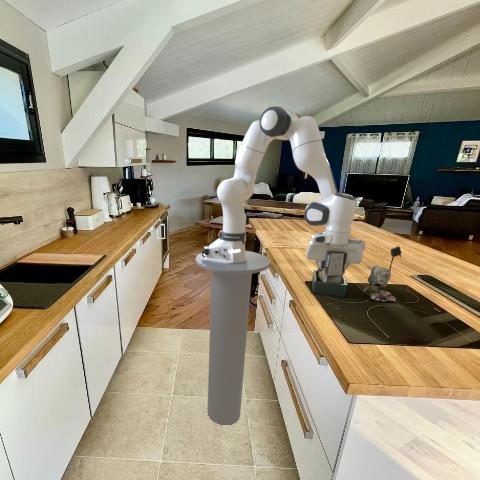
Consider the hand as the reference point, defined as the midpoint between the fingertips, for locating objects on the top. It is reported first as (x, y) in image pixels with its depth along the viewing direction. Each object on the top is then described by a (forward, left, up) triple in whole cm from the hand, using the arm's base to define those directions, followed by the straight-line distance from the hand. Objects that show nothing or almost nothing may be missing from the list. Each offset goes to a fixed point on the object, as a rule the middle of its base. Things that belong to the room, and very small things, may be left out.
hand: (330, 271), depth 125 cm
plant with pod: (+18, -4, -7) cm, 20 cm away
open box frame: (0, 0, -7) cm, 7 cm away
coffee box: (0, 0, -7) cm, 7 cm away
